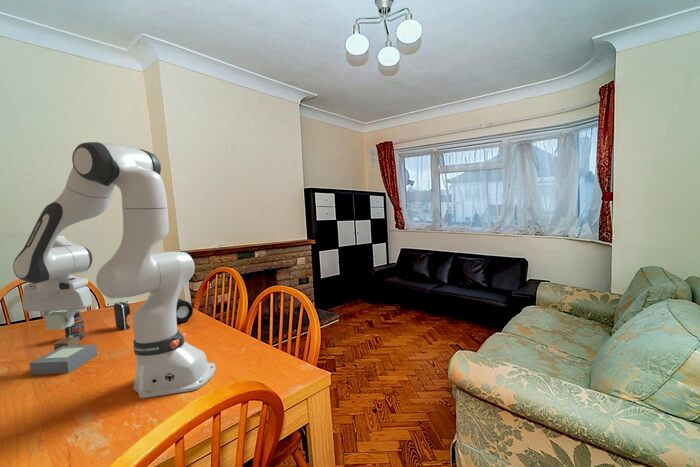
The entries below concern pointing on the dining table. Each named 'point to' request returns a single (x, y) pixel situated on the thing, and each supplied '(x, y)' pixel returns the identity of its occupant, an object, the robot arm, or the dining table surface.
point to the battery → (121, 315)
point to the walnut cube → (67, 342)
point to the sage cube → (57, 320)
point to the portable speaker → (183, 310)
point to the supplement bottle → (76, 327)
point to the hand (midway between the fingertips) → (60, 322)
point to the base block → (63, 359)
